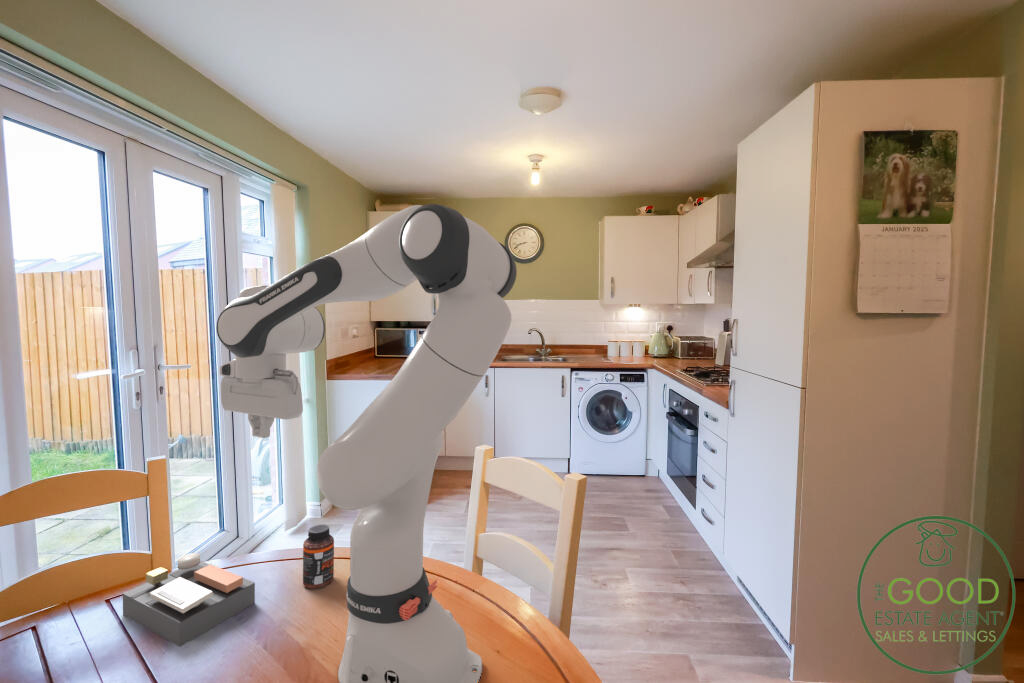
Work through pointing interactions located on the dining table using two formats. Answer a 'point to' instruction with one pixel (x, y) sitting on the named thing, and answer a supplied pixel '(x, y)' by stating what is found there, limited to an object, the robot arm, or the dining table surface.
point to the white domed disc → (188, 561)
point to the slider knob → (157, 576)
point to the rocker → (181, 594)
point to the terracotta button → (218, 578)
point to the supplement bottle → (318, 557)
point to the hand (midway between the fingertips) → (261, 436)
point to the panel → (191, 622)
